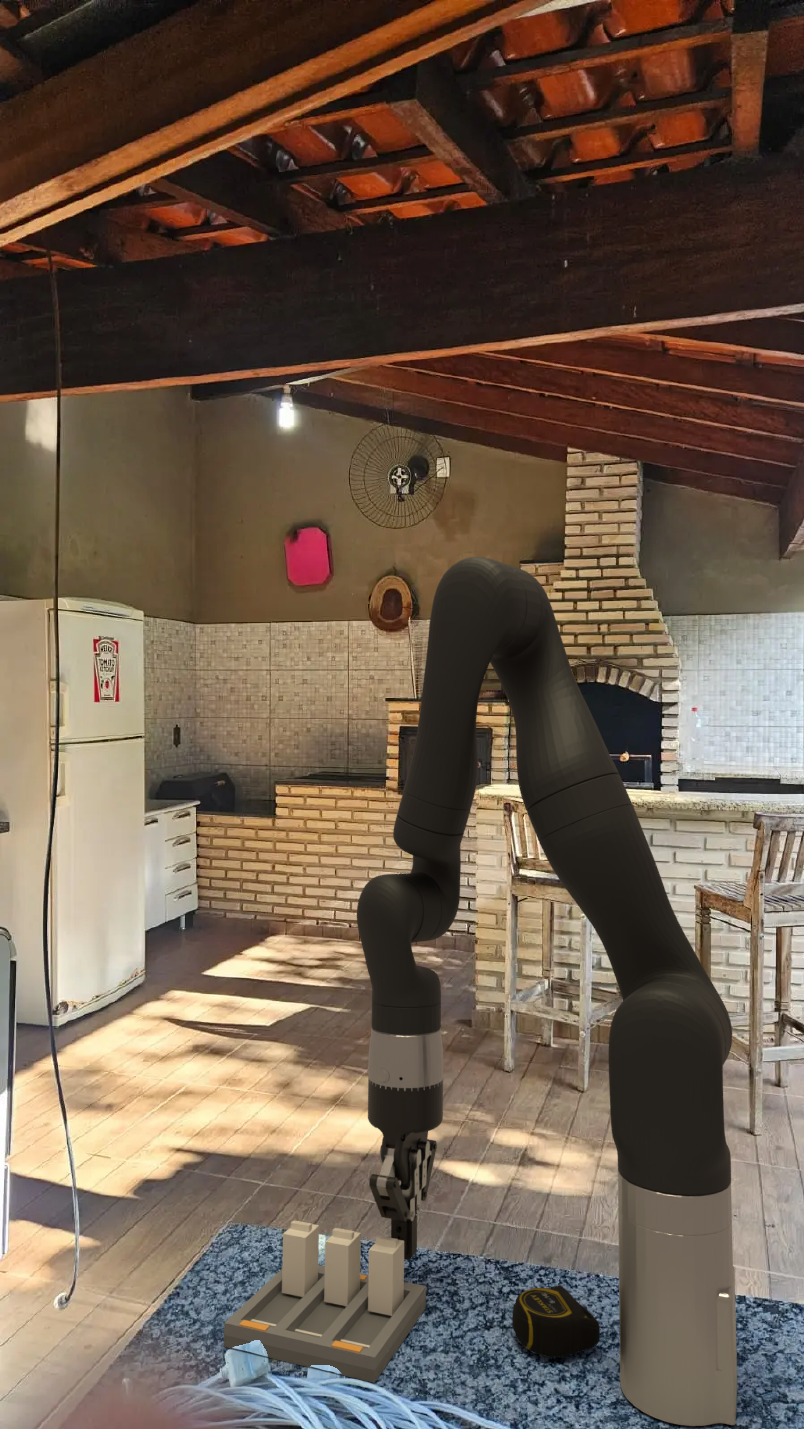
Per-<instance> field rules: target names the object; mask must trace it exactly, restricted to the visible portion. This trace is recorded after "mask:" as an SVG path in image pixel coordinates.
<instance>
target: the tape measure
mask: <svg viewBox="0 0 804 1429" xmlns="http://www.w3.org/2000/svg"><path fill="white" fill-rule="evenodd" d="M511 1317H512V1318H511V1320H512V1321H511V1322H512V1329H513V1331H514V1335H515V1338H516V1339H517V1341H518V1342H519V1343H520V1344H521V1345H522V1346H523V1347H524V1348H526V1349H528V1351H529V1352H532V1353H535V1354H537V1355H538V1356H539V1355H540V1356H542V1357H543V1356H544V1357H548V1358H556V1359H557V1358H567V1357H568V1358H570V1356H574V1355H575V1354H579V1353H580V1352H581V1353H582V1352H583V1351H588V1350H592V1349H593V1348H594V1347H596V1346H597V1345H598V1343H599V1342H600V1336H601V1331H600V1328H601V1327H600V1323H599V1322H598V1320H597V1319H596V1318H595V1316H594V1315H593V1314H592V1313H591V1312H590V1311H589V1310H587V1309H586V1307H584V1306H583V1305H582V1304H581V1303H580V1302H579V1301H578V1300H577V1299H576V1298H574V1297H573V1295H572V1294H571V1293H570V1292H569V1291H568V1290H567V1289H566V1288H565V1287H564V1286H562V1285H554V1286H551V1287H550V1288H549V1287H547V1288H546V1287H534V1288H533V1287H532V1288H530V1289H526V1290H524V1291H523V1292H521V1293H520V1294H519V1295H518V1296H517V1297H516V1298H515V1302H514V1304H513V1306H512V1316H511Z"/></svg>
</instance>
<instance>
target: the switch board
mask: <svg viewBox="0 0 804 1429" xmlns="http://www.w3.org/2000/svg"><path fill="white" fill-rule="evenodd" d="M368 1283H369V1274H367V1273H362V1272H360V1291H359V1292H358V1294H357V1295H356V1296H355V1297H354V1298H353V1300H352V1301H351V1302H350V1303H349V1304H348V1305H347V1306H343V1305H338V1304H333V1303H329V1302H324V1287H325V1265H322V1264H321V1265H320V1264H318V1282H317V1283H316V1284H315V1285H314V1286H313V1287H312V1288H311V1289H310V1290H309V1291H308V1292H307V1293H306V1294H305V1295H304V1297H300V1296H295V1295H291V1294H286V1293H282V1268H281V1269H280V1270H279V1271H278V1272H277V1273H276V1274H274V1275H273V1277H271V1278H270V1280H268V1281H267V1282H266V1283H265V1284H264V1285H263V1286H261V1288H260V1289H259V1290H257V1291H256V1292H255V1294H253V1295H252V1296H251V1297H250V1298H249V1299H248V1300H247V1301H246V1302H244V1304H243V1305H242V1306H241V1307H239V1308H238V1309H237V1310H236V1311H235V1312H234V1313H233V1314H232V1315H231V1316H230V1317H229V1318H228V1319H227V1320H226V1321H225V1322H224V1324H223V1325H224V1326H223V1347H224V1348H227V1349H231V1348H232V1347H234V1346H239V1345H243V1344H246V1343H250V1342H251V1341H254V1340H260V1341H261V1343H262V1344H263V1346H264V1348H265V1349H266V1351H267V1354H268V1357H267V1358H269V1359H274V1360H278V1361H281V1362H286V1363H289V1364H293V1365H294V1364H295V1365H298V1366H302V1367H306V1368H307V1367H308V1368H310V1366H311V1365H330V1366H333V1367H335V1368H337V1369H338V1370H339V1371H340V1372H341V1373H342V1374H341V1375H340V1376H344V1377H347V1378H348V1377H349V1378H353V1379H357V1380H360V1381H365V1382H369V1383H373V1384H375V1383H376V1382H377V1381H378V1378H379V1377H380V1375H382V1373H383V1371H384V1370H385V1368H386V1367H387V1365H388V1364H389V1362H391V1360H392V1358H393V1357H394V1355H395V1354H396V1352H397V1351H398V1349H399V1348H400V1346H401V1345H402V1344H403V1342H404V1340H405V1339H406V1338H407V1336H408V1334H409V1333H410V1332H411V1331H412V1329H413V1327H414V1326H415V1324H416V1323H417V1321H418V1320H419V1319H420V1317H421V1316H422V1315H423V1312H424V1311H425V1310H426V1308H427V1285H423V1284H418V1283H412V1282H407V1281H404V1301H403V1302H402V1303H401V1305H400V1306H399V1307H398V1309H397V1310H396V1311H395V1313H394V1314H393V1315H392V1316H390V1315H385V1314H381V1313H376V1312H371V1311H368Z"/></svg>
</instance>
